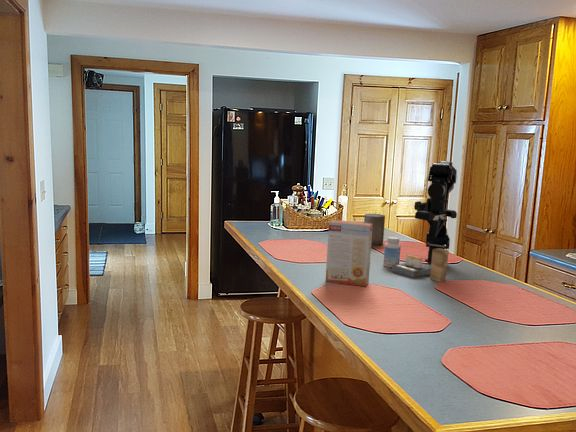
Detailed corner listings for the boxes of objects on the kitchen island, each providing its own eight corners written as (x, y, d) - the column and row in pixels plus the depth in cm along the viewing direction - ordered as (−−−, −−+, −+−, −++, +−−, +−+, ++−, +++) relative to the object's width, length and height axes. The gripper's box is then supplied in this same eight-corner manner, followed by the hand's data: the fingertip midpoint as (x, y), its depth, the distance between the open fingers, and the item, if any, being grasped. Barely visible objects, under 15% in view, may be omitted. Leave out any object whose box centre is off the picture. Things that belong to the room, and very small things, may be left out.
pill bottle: (399, 268, 203) (401, 240, 201) (383, 266, 204) (385, 238, 203) (398, 264, 209) (401, 237, 207) (383, 263, 210) (385, 235, 208)
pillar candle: (386, 243, 252) (388, 212, 250) (378, 246, 244) (380, 214, 241) (367, 240, 257) (369, 210, 255) (359, 243, 249) (361, 212, 247)
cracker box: (368, 283, 180) (373, 223, 177) (365, 287, 174) (370, 225, 171) (329, 277, 184) (333, 218, 181) (324, 281, 179) (328, 221, 176)
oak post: (436, 277, 192) (439, 248, 191) (445, 280, 189) (448, 250, 188) (429, 278, 190) (432, 249, 188) (438, 281, 187) (441, 251, 185)
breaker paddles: (408, 263, 200) (409, 254, 199) (422, 267, 195) (423, 258, 194) (404, 264, 199) (405, 255, 198) (418, 268, 193) (419, 258, 193)
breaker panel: (412, 268, 205) (413, 261, 204) (433, 274, 197) (434, 267, 196) (391, 271, 197) (392, 264, 197) (413, 278, 189) (413, 271, 189)
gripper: (435, 193, 211) (431, 231, 214) (405, 194, 200) (401, 234, 202) (459, 196, 203) (455, 236, 205) (429, 198, 191) (425, 240, 194)
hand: (434, 236), depth 202 cm, fingers closed
